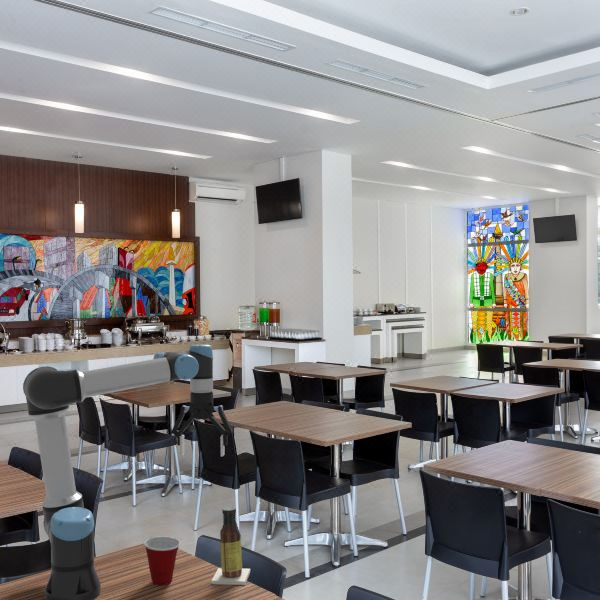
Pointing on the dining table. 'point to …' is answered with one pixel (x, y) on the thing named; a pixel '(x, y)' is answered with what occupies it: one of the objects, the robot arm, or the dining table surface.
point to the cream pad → (231, 578)
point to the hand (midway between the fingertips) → (202, 455)
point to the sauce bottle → (230, 544)
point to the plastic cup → (161, 558)
